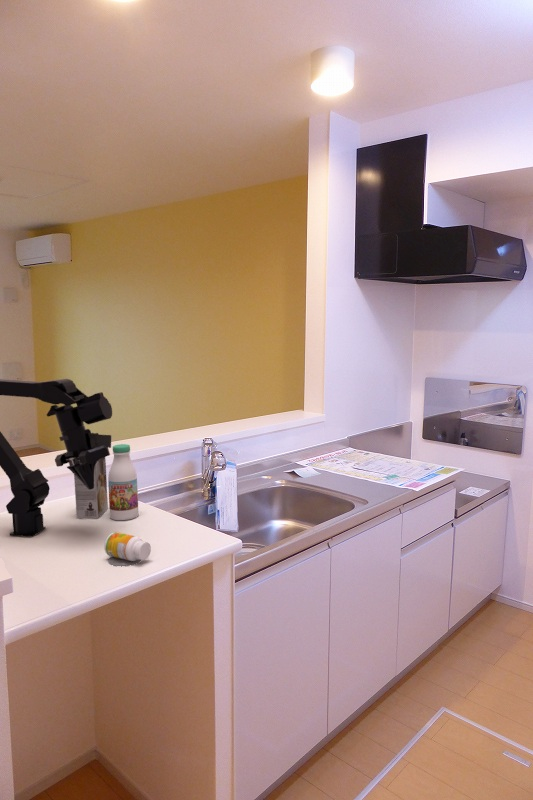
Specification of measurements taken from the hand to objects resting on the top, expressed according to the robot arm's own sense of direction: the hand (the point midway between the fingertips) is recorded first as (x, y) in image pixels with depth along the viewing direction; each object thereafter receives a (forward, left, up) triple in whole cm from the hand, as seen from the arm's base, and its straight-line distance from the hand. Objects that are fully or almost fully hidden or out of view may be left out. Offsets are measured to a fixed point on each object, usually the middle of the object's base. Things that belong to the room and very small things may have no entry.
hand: (91, 489), depth 146 cm
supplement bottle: (+10, -11, -9) cm, 18 cm away
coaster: (+15, -13, -12) cm, 23 cm away
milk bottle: (+1, +15, -12) cm, 20 cm away
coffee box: (-9, +16, -12) cm, 22 cm away
